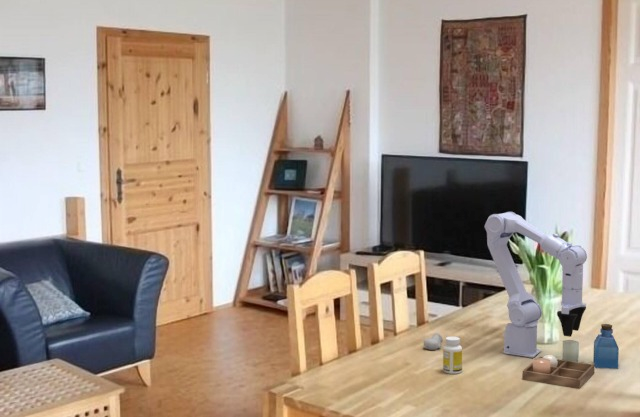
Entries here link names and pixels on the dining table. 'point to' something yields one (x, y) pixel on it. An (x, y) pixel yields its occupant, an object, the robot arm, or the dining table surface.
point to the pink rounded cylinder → (541, 365)
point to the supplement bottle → (452, 356)
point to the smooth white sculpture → (433, 342)
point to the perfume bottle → (606, 349)
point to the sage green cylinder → (570, 350)
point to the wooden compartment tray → (562, 374)
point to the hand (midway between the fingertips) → (571, 333)
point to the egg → (552, 360)
